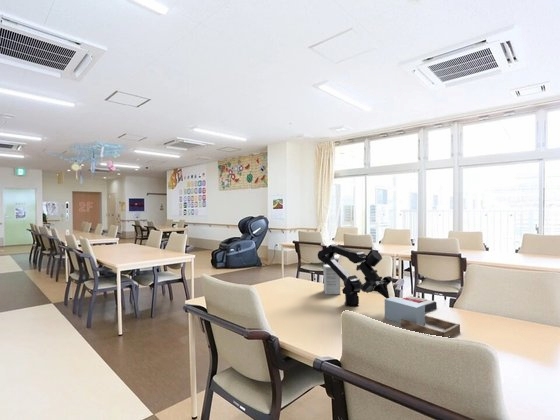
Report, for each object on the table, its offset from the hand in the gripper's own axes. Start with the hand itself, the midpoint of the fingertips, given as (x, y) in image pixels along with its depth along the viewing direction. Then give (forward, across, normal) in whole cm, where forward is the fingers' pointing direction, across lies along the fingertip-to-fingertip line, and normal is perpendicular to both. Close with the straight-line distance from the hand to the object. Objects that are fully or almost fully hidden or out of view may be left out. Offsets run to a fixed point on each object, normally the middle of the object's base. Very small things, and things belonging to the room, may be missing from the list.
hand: (388, 298), depth 148 cm
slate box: (+12, 0, 0) cm, 12 cm away
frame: (+20, 0, +8) cm, 21 cm away
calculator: (+7, -24, -6) cm, 26 cm away
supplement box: (-27, -9, -39) cm, 48 cm away
